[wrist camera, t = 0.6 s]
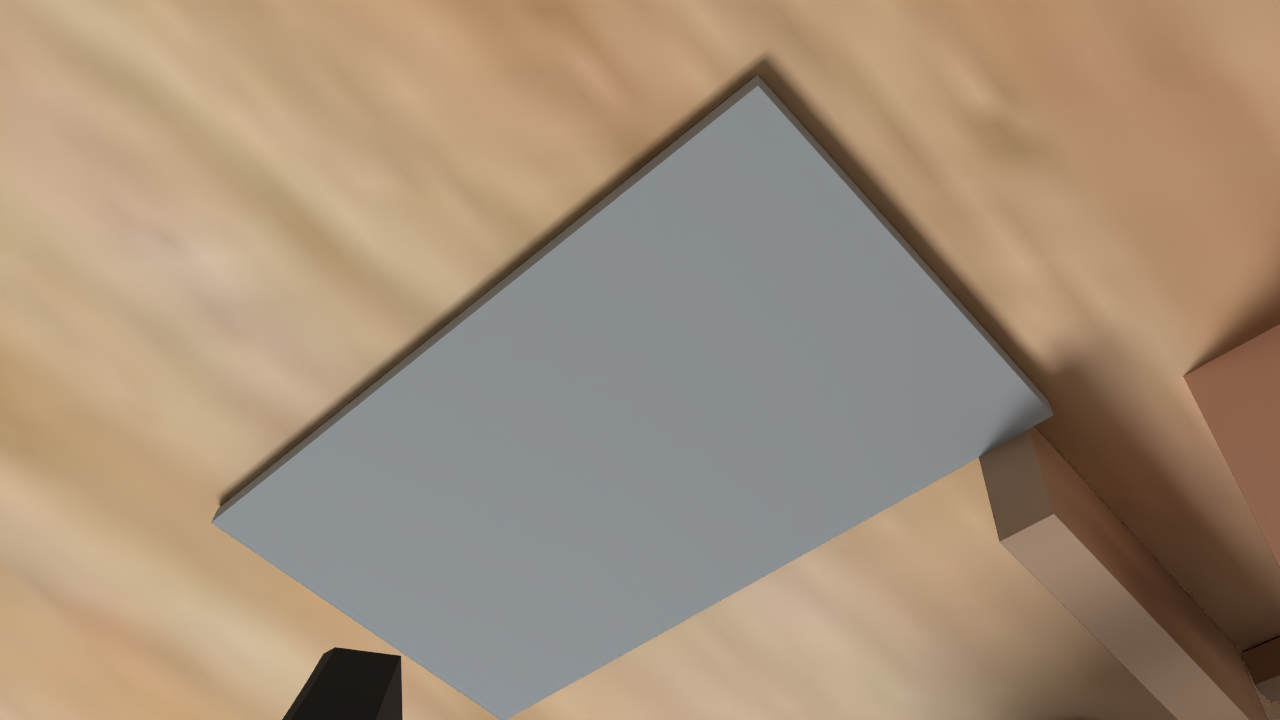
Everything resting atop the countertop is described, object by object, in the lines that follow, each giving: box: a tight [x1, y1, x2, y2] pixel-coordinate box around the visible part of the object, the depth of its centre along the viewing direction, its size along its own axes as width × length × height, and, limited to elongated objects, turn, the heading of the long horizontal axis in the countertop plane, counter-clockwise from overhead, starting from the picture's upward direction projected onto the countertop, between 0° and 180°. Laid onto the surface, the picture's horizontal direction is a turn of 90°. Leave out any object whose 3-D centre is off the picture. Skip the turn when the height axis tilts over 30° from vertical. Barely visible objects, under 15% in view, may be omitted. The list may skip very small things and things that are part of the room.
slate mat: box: [211, 75, 1054, 720], centre depth 22 cm, size 8×14×1 cm, turn 133°
